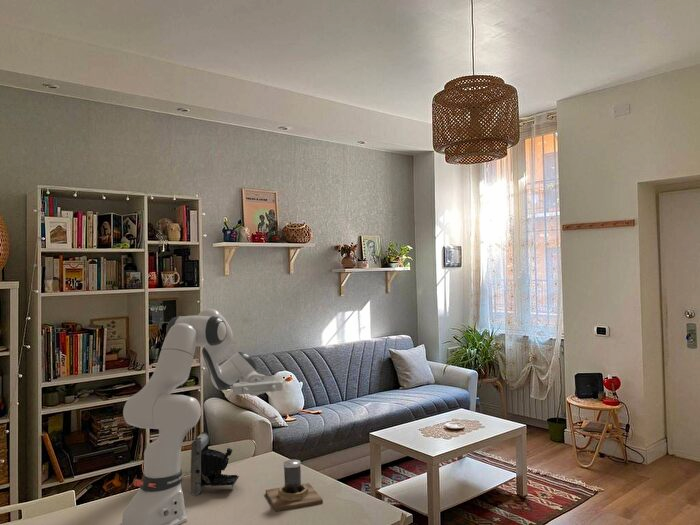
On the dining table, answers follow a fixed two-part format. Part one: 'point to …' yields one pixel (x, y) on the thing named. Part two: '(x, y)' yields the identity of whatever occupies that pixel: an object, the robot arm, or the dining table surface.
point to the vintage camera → (208, 466)
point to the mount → (293, 497)
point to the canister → (292, 476)
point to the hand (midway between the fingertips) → (261, 390)
